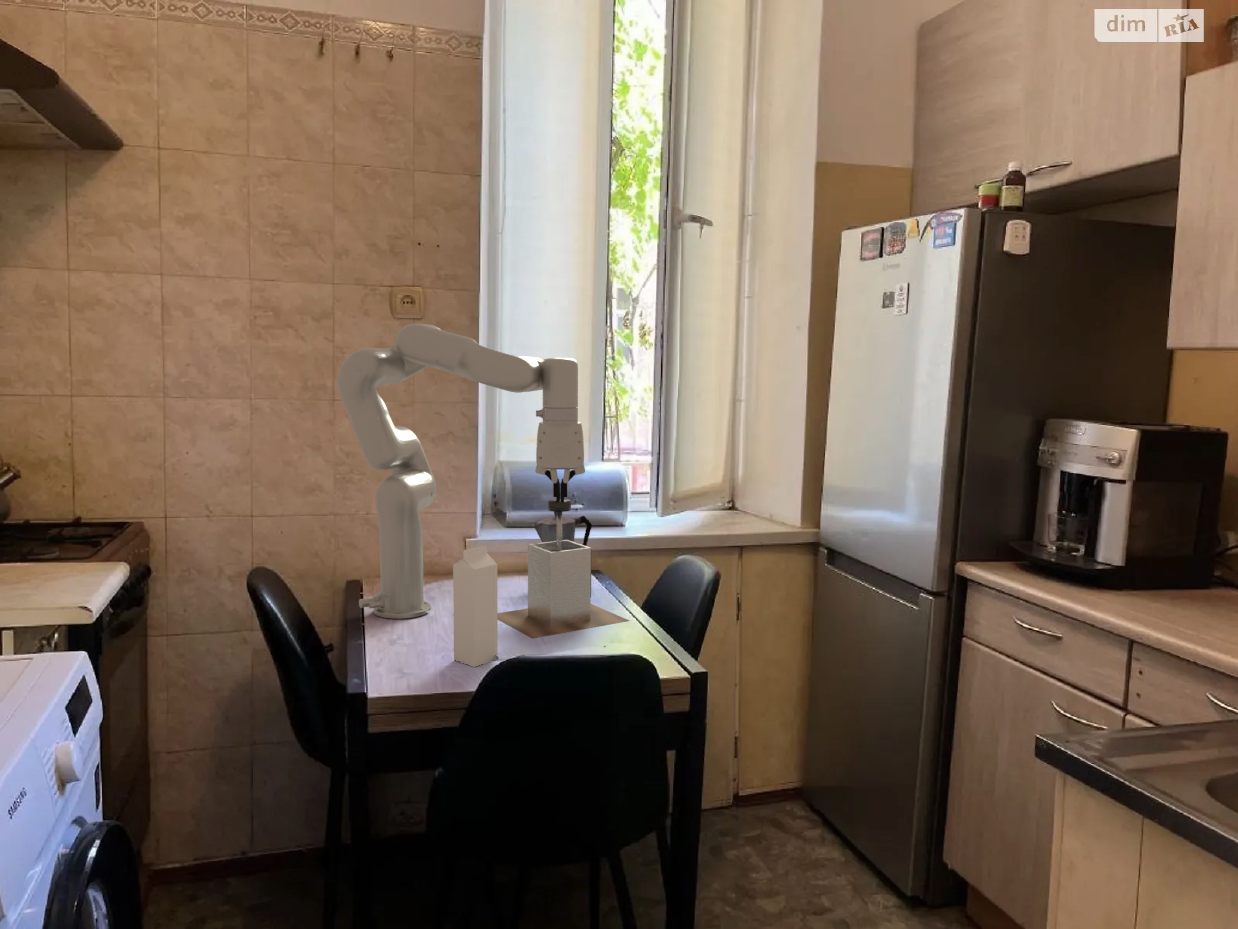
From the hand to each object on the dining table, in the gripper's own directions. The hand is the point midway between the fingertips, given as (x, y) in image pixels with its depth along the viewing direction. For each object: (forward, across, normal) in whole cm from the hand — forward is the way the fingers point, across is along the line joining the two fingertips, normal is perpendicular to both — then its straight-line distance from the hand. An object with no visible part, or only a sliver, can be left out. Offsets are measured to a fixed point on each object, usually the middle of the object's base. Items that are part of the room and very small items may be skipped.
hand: (560, 500), depth 198 cm
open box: (+26, +1, +1) cm, 26 cm away
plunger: (+13, 0, 0) cm, 13 cm away
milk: (+27, -16, -25) cm, 40 cm away
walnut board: (+27, 0, 0) cm, 27 cm away
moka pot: (+27, 0, +31) cm, 41 cm away
